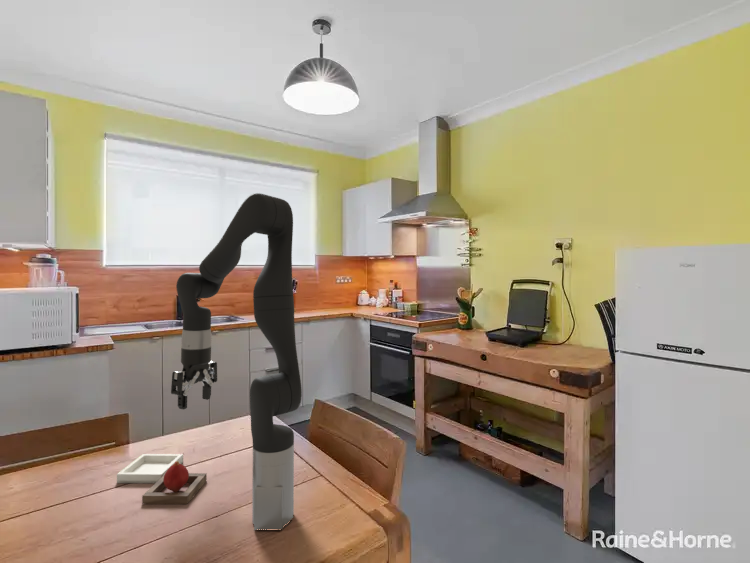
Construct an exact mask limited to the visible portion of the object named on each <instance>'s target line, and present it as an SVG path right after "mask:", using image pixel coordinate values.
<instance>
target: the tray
mask: <svg viewBox="0 0 750 563" xmlns="http://www.w3.org/2000/svg"><path fill="white" fill-rule="evenodd" d="M176 461H179V464H182V465H183V463H184V454H183V453H182V454H180V453H178V454H177V453H175V454H174V453H143V454H141V455H140V456H139V457H137V458H136V459H134V460H133V461H132V462H131V463H129V464H128V465H126V467H124V468H123V469H121V470H120V471H119V472H118V473H116V483H117V484H155V483H156V482H157V481H158V480H160V479H161V478H162V477H163V476H164V475H165V473H166V472H167V470H168V469H169V468H170V467H171V466H172V465H173V464H174V463H175V462H176Z"/></svg>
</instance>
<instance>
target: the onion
mask: <svg viewBox="0 0 750 563" xmlns="http://www.w3.org/2000/svg"><path fill="white" fill-rule="evenodd" d="M189 473H190V472H189V471H188V469H187V467H186V466H185V465H183V463H182V464H179V461H176V462H175V463H174V464H173V465H172V466H171V467H170V468H169V469H168V470H167V472H166V473H165V475H164V480H163V482H164V485H165V486H166V487H165V488H166V489H167V490H169V491H170V492H171V491H172V493H179V492H180V490H182V488H183V487H184V486H185V485H186V482H187V480H188V477H189Z"/></svg>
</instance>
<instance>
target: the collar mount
mask: <svg viewBox="0 0 750 563" xmlns="http://www.w3.org/2000/svg"><path fill="white" fill-rule="evenodd" d="M188 473H189V477H188V480H187V482H186V483H192V484H190V485H189V486H188V487H187V488H186V490H185V491H184V492H162V491H163V490H164V489H165V488H166V486H165V485H164V482H163V480H164V476H163V477H162V478H161V479H160V480H158V481H157V482H156V483H153V485H152V486H151V487H150V488H149V489H147V491H145V493H143V494H142V496H141V497H142V498H141V499H142V500H141V503H142V505H188V504H189V503H190V501H191V500H192V499H193V496H196V494H197V493H198V492H199V490H200V489H201V488H202V487H203V486H202V485H205V483H206V482H207V481H206V480H207V476H208V475H207V474H208V473H202V472H201V473H198V472H197V473H194V472H188ZM201 486H202V487H201ZM200 487H201V488H200ZM197 491H198V492H197Z"/></svg>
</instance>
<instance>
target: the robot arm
mask: <svg viewBox="0 0 750 563" xmlns="http://www.w3.org/2000/svg"><path fill="white" fill-rule="evenodd" d="M254 234H258V235H259V234H260V235H266V236H267V245H268V246H267V257H266V260H265V263H264V266H263V267H262V270H261V271H260V273H259V275H258V277H257V279H256V282H255V284H254V288H253V292H252V294H253V295H252V298H253V316H254V320H255V324H256V325H257V326H258V328H259V330H260V331H261V333H262V335H264V337H265V339H266V340H267V341H268V342H269V344H270V345H271V347H272V349H273V351H274V353H275V356H276V360H277V366H278V367H277V368H278V373H273V374H267V375H263V376H258V377H255V378H254V379H253V380H252V382H251V385H250V387H249V409H250V433H251V437H252V438H251V439H252V488H251V489H252V492H251V493H252V495H251V496H252V504H251V506H252V507H251V508H252V513H251V514H252V525H253V524H254V525H253V531H255V530H257V529H258V530H259V529H260V530H261V529H262V530H263V529H264V530H265V529H266V530H267V529H282V528H283V529H284V527H283V526H284V525H285V524H287V523H288V522H289V521H290V520H291V519H292V518H293V519H294V516H293V515H294V510H295V509H294V507H295V506H294V505H295V504H294V501H295V500H294V499H295V498H294V497H295V496H294V494H295V493H294V491H295V490H294V488H295V486H294V485H295V483H294V482H295V479H294V478H295V475H294V474H295V471H294V470H295V469H294V468H295V463H294V462H295V433H294V431H293V429H292V428H291V427H289V426H286V425H283V424H275V423H274V417H276V416H280V415H283V414H288V413H292V412H294V411H297V410H298V408H299V407H300V405H301V402H302V396H303V394H302V382H301V381H302V380H301V374H300V367H299V366H300V365H299V360H298V352H297V351H298V350H297V344H296V330H295V329H296V327H295V326H296V325H295V300H294V288H293V262H292V261H293V260H292V259H293V257H292V256H293V254H292V253H293V252H292V251H293V235H294V213H293V209H292V207H291V205H290V204H289V202H288V201H286V200H285V199H284V198H280V197H275V196H272V195H268V194H264V193H260V192H259V193H258V192H257V193H252V194H250V195H248V196H247V197H246V198H245V199H244V201H243V202H242V204H240V206H239V207H238V210H237V211H236V212H235V214H234V216H233V218H232V220H231V221H230V222H229V225H228V226H227V227H226V230H225V232H224V233H223V235H222V237H221V238H220V240H219V241H218V243H217V244H216V245H215V247H214V248H213V249H212V250H211V251H210V252H209V253H208V254H207V255H206V257H205V258H203V260H202V261H201V263H200V264H199V267H198V268H199V269H198V270H199V272H184V273H182V274H181V275H180V276H179V277H178V279H177V281H176V288H175V289H176V293H177V297H178V300H179V304H180V308H181V312H182V333H181V344H180V346H181V347H180V348H181V349H180V362H181V365H182V369H181V371H180V370H179V371H177V370H174V371H172V374H171V385H170V386H171V388H170V393H171V395H175V396H177V407H178V409H180V410H187V408H188V393H189V390H190V389H191V388H193V386H194V385H195V384H197V383H198V382H201V383H202V391H201V392H202V400H207V401H208V400H211V395H212V386H213V385H214V383H217V382H218V362H217V361H212V330H211V329H212V312H211V309H209V307H205V306H199V304H198V301H197V300H198V299H209V298H213V297H214V296H215V295H217V294H218V293H219V291H220V289H221V287H222V285H223V282H224V280H225V278H226V277H227V276H229V274H230V273H231V272H233V270H234V269H235V267H237V265H238V264H239V262H240V260H241V257H242V247H243V243H244V242H245V241H246V240H247V239H249V237H250V236H252V235H254ZM293 519H292V520H293ZM283 529H282V530H283Z"/></svg>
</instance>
